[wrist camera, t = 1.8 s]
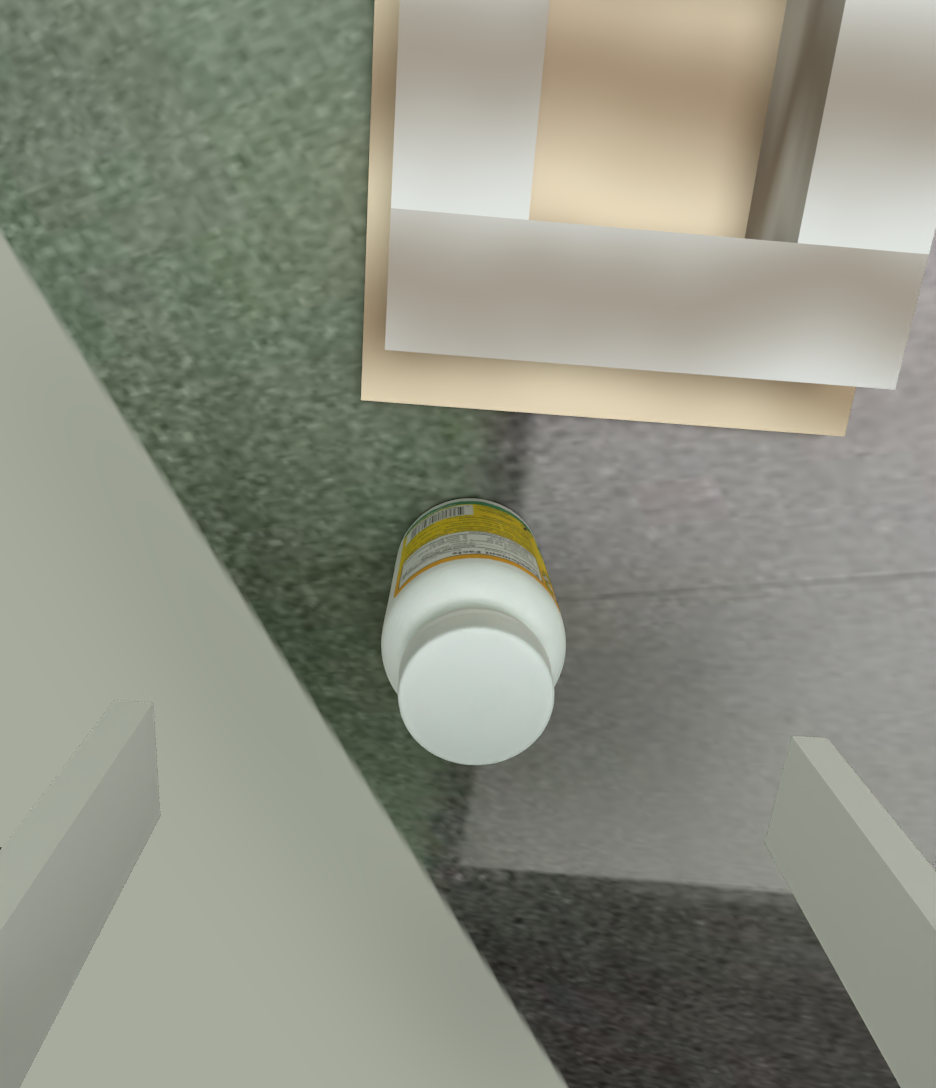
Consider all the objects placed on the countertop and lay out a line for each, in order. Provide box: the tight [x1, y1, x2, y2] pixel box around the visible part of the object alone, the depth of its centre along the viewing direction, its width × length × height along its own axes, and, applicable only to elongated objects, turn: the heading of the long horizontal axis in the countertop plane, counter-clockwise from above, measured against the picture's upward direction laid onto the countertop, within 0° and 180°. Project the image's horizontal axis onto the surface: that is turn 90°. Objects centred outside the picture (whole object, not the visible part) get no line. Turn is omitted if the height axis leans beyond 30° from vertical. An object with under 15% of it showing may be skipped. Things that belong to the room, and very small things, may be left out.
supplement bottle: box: [381, 498, 566, 765], centre depth 24 cm, size 5×5×10 cm
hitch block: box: [361, 0, 936, 436], centre depth 22 cm, size 18×16×6 cm
